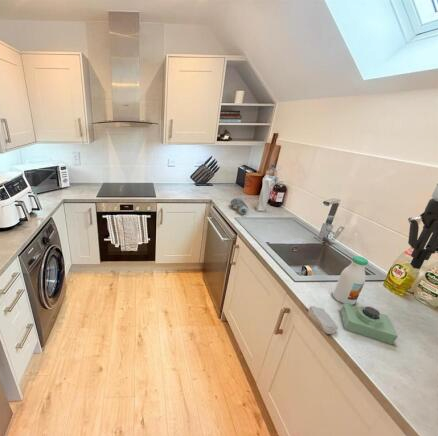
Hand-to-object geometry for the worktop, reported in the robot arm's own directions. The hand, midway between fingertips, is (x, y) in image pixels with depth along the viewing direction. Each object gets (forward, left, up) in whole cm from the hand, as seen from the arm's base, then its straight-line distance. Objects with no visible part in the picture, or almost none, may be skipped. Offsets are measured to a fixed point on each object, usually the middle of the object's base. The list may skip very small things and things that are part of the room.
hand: (414, 266), depth 80 cm
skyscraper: (+52, -100, -24) cm, 116 cm away
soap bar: (+22, +15, -24) cm, 36 cm away
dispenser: (+8, +9, -24) cm, 27 cm away
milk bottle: (+12, -5, -24) cm, 28 cm away
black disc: (+8, +9, -18) cm, 22 cm away
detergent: (+68, -90, -24) cm, 115 cm away
